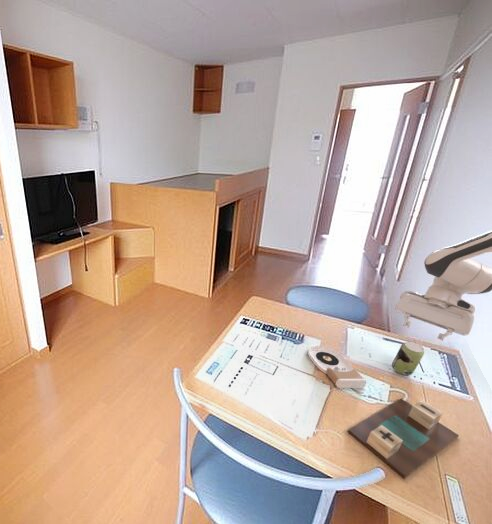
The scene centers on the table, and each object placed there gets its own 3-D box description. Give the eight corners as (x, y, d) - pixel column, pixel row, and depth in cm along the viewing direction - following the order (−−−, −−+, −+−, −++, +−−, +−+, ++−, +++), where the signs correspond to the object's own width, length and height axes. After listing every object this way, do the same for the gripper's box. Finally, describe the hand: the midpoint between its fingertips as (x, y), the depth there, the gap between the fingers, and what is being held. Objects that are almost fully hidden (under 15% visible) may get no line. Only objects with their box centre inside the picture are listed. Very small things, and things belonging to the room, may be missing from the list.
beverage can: (406, 366, 110) (418, 339, 105) (417, 381, 103) (431, 352, 98) (386, 363, 111) (397, 336, 106) (396, 377, 105) (408, 349, 100)
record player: (335, 380, 99) (303, 342, 117) (332, 387, 100) (302, 349, 118) (370, 380, 99) (333, 342, 117) (367, 387, 100) (331, 349, 119)
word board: (400, 400, 95) (405, 388, 93) (457, 437, 84) (465, 424, 82) (347, 431, 85) (352, 418, 83) (404, 479, 73) (411, 465, 71)
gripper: (404, 285, 114) (386, 316, 112) (482, 308, 99) (462, 344, 97) (404, 292, 118) (387, 322, 117) (478, 316, 103) (460, 350, 101)
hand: (422, 332), depth 107 cm, fingers open, 8 cm apart
